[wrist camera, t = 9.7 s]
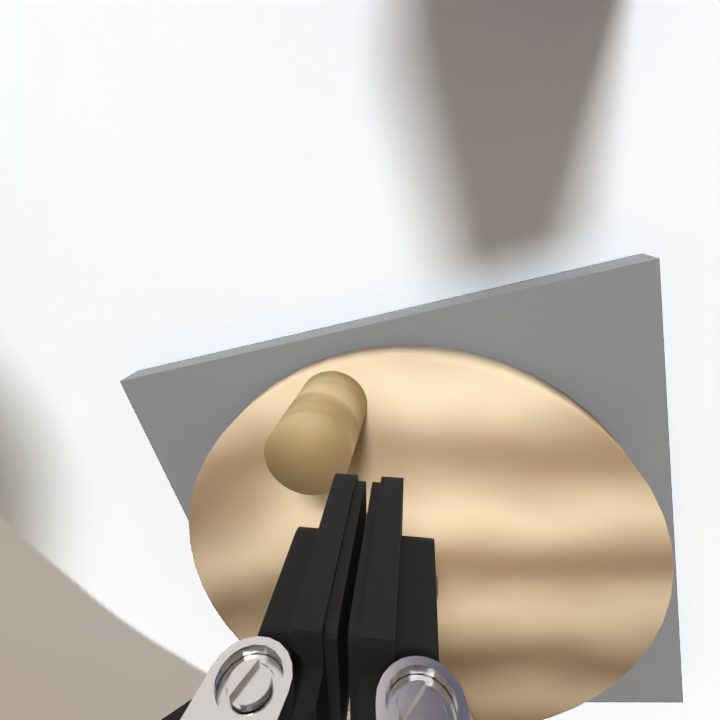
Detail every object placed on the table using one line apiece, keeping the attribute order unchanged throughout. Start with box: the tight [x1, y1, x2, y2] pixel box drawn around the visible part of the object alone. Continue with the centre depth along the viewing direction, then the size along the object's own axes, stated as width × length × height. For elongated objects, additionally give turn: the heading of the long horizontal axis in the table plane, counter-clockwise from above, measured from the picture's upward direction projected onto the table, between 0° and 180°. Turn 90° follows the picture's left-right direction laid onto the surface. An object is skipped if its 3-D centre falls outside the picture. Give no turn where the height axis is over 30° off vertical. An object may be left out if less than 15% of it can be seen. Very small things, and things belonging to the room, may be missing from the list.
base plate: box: [120, 254, 683, 702], centre depth 24 cm, size 26×26×2 cm
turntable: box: [189, 346, 674, 720], centre depth 21 cm, size 24×24×6 cm
